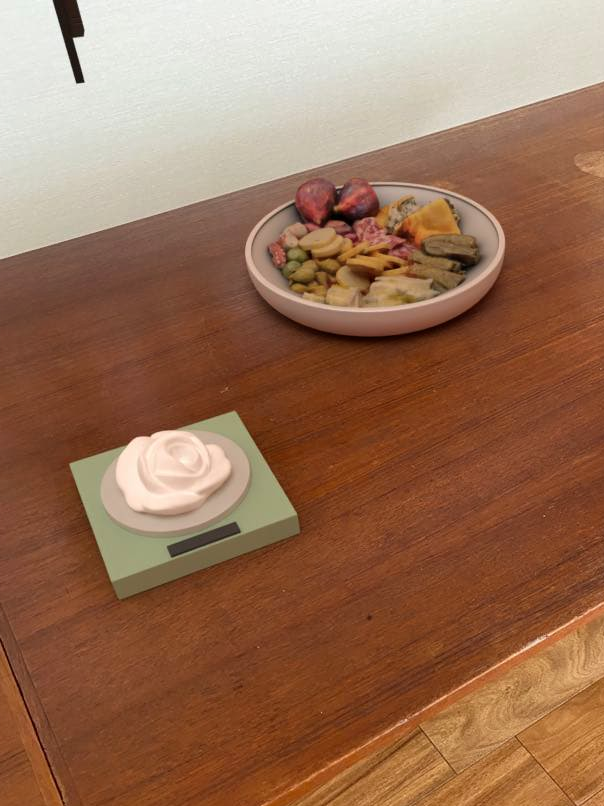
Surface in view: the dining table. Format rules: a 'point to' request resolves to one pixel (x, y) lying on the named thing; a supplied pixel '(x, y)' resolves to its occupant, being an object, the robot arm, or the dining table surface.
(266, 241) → the bowl
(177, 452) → the rose
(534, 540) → the dining table surface
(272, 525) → the scale
